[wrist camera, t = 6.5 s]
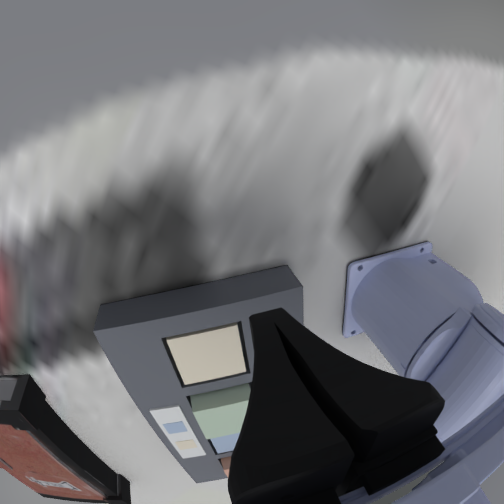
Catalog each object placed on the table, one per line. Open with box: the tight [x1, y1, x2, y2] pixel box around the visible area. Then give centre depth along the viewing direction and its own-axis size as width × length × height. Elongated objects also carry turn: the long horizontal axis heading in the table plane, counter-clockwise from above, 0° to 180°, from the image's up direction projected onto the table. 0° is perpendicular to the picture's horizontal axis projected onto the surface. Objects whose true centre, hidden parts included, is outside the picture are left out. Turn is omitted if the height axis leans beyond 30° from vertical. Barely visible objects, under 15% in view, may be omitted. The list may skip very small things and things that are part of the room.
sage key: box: [190, 383, 251, 439], centre depth 23 cm, size 5×5×2 cm
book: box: [0, 374, 131, 504], centre depth 23 cm, size 26×18×5 cm
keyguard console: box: [93, 265, 303, 483], centre depth 26 cm, size 14×28×3 cm, turn 6°
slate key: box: [211, 433, 240, 453], centre depth 27 cm, size 5×5×2 cm
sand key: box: [166, 322, 246, 385], centre depth 21 cm, size 5×5×2 cm
